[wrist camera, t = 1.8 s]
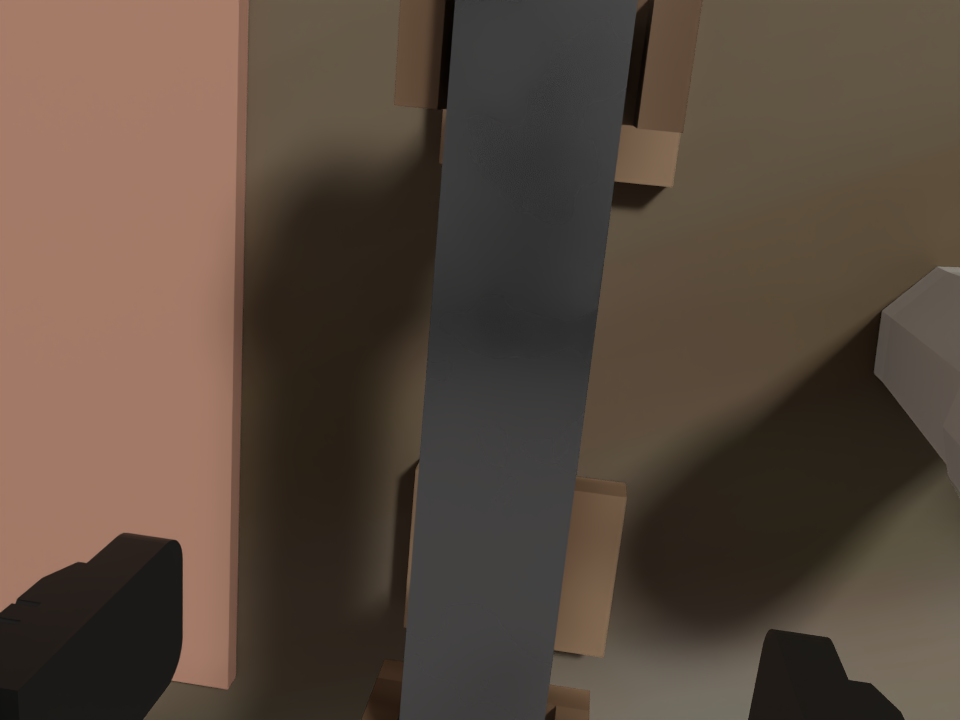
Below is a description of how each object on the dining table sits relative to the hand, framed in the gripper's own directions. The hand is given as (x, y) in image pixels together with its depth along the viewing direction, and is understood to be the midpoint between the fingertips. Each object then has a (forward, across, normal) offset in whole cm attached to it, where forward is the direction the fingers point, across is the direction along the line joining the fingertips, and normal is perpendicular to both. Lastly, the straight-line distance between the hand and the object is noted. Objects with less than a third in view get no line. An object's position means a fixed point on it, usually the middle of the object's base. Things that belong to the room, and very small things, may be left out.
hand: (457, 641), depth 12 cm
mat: (+18, +15, +1) cm, 24 cm away
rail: (+8, 0, 0) cm, 8 cm away
